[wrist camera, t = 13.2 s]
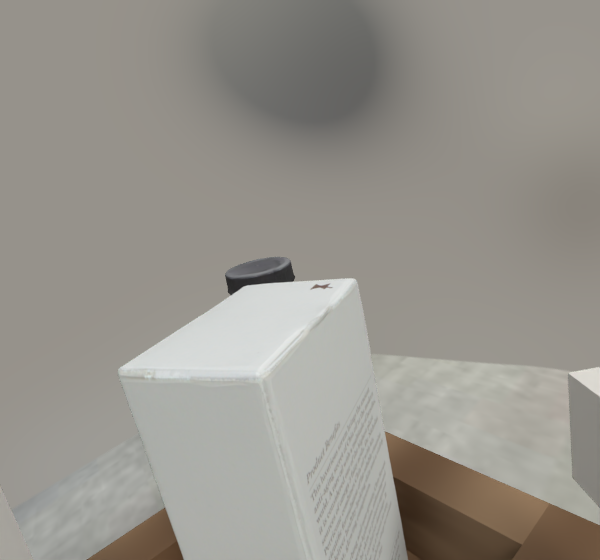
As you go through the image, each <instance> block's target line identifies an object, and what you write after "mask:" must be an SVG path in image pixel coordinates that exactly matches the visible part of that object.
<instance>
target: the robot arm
mask: <svg viewBox="0 0 600 560" xmlns="http://www.w3.org/2000/svg"><path fill="white" fill-rule="evenodd" d="M568 385H569V408H570V431H571V454H572V477H573V479H574V480H575V481H576V482H577V483H578V484H579V485H580V486H581V488H582V489H583V490H584V491H585V492H586V493H587V494H588V495H589V496H590V498H591V499H592V500H593V501H594V502H595V503H596V504H597V505H598V507H599V508H600V367H597V368H592V369H586V370H581V371H576V372H570V373H568ZM0 560H33V558H32V555H31V553H30V551H29V549H28V546H27V544H26V542H25V540H24V537H23V535H22V533H21V531H20V528H19V526H18V524H17V522H16V519H15V517H14V515H13V513H12V510H11V508H10V506H9V504H8V501H7V499H6V497H5V495H4V492H3V490H2V488H1V486H0Z"/></svg>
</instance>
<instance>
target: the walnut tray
mask: <svg viewBox="0 0 600 560" xmlns="http://www.w3.org/2000/svg"><path fill="white" fill-rule="evenodd" d="M385 436H386V441H387V447H388V453H389V458H390V463H391V469H392V475H393V480H394V485H395V490H396V495H397V501H398V507H399V512H400V518H401V523H402V529H403V535H404V540H405V546H406V551H407V557H408V560H600V525H597V524H595V523H593V522H591V521H588V520H586V519H584V518H582V517H579V516H577V515H575V514H572V513H570V512H568V511H566V510H563V509H561V508H559V507H556V506H554V505H552V504H550V503H547V502H545V501H543V500H540V499H538V498H536V497H534V496H531V495H529V494H527V493H524V492H522V491H520V490H518V489H515V488H513V487H511V486H508V485H506V484H504V483H502V482H499V481H497V480H495V479H492V478H490V477H488V476H486V475H483V474H481V473H479V472H476V471H474V470H472V469H470V468H467V467H465V466H463V465H460V464H458V463H456V462H454V461H451V460H449V459H447V458H444V457H442V456H440V455H438V454H435V453H433V452H431V451H428V450H426V449H424V448H422V447H419V446H417V445H415V444H412V443H410V442H408V441H406V440H403V439H401V438H399V437H396V436H394V435H392V434H390V433H387V432H385ZM87 560H184V559H183V556H182V553H181V550H180V547H179V545H178V542H177V539H176V536H175V534H174V531H173V528H172V525H171V522H170V519H169V517H168V514H167V511H166V509H165V508H164V509H162V510H161V511H159V512H158V513H156V514H155V515H153V516H152V517H150V518H149V519H147V520H146V521H144V522H143V523H141V524H140V525H138V526H137V527H135V528H134V529H132V530H131V531H129V532H128V533H126V534H125V535H123V536H122V537H120V538H119V539H117V540H116V541H114V542H113V543H111V544H110V545H108V546H107V547H105V548H104V549H102V550H101V551H99V552H98V553H96V554H95V555H93V556H92V557H90V558H89V559H87Z"/></svg>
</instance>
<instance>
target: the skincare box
mask: <svg viewBox="0 0 600 560" xmlns="http://www.w3.org/2000/svg"><path fill="white" fill-rule="evenodd" d="M118 376H119V379H120V382H121V385H122V388H123V390H124V393H125V396H126V398H127V402H128V405H129V407H130V410H131V413H132V416H133V418H134V421H135V424H136V427H137V429H138V432H139V435H140V438H141V441H142V444H143V446H144V449H145V452H146V455H147V458H148V460H149V463H150V466H151V469H152V472H153V475H154V478H155V481H156V483H157V486H158V489H159V491H160V494H161V497H162V500H163V503H164V506H165V509H166V511H167V514H168V517H169V519H170V522H171V525H172V528H173V531H174V534H175V536H176V539H177V542H178V545H179V547H180V550H181V553H182V556H183V559H184V560H408V557H407V551H406V546H405V540H404V535H403V529H402V523H401V518H400V512H399V507H398V501H397V495H396V490H395V485H394V480H393V475H392V469H391V463H390V458H389V453H388V447H387V441H386V436H385V431H384V425H383V419H382V413H381V407H380V402H379V396H378V391H377V386H376V380H375V375H374V369H373V364H372V358H371V352H370V346H369V340H368V334H367V328H366V323H365V318H364V312H363V307H362V303H361V298H360V293H359V288H358V283H357V281H356V280H355V279H349V278H348V279H331V280H316V281H300V282H283V283H267V284H257V285H247V286H244V287H242V288H241V289H240V290H238V291H237V292H235V293H234V294H232V295H231V296H230V297H228V298H227V299H225V300H224V301H222V302H221V303H219V304H218V305H216V306H215V307H213V308H212V309H210V310H209V311H207V312H206V313H204V314H202V315H201V316H199V317H197V318H196V319H194V320H193V321H191V322H190V323H188V324H187V325H185V326H184V327H182V328H180V329H179V330H177V331H176V332H174V333H173V334H171V335H170V336H168V337H166V338H165V339H163V340H162V341H160V342H159V343H157V344H156V345H154V346H153V347H151V348H150V349H148V350H147V351H145V352H143V353H142V354H140V355H139V356H137V357H136V358H134V359H133V360H131V361H129V362H128V363H126V364H125V365H123V366H121V367H120V368H119V370H118Z"/></svg>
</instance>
